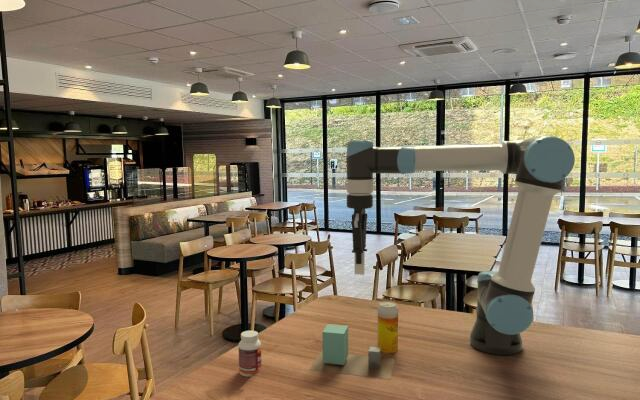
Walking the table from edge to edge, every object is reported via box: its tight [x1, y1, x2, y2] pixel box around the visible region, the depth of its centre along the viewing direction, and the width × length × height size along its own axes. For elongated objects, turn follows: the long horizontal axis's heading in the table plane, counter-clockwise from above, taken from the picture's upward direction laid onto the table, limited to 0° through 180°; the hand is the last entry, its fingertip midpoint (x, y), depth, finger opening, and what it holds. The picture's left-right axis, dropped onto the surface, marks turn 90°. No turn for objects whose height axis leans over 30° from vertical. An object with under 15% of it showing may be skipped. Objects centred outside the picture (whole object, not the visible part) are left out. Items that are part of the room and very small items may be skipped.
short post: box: [367, 346, 382, 370], centre depth 129 cm, size 3×3×5 cm
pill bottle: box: [238, 330, 262, 378], centre depth 129 cm, size 6×6×11 cm
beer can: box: [376, 300, 399, 354], centre depth 140 cm, size 6×6×15 cm
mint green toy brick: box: [321, 323, 349, 365], centre depth 132 cm, size 6×6×9 cm
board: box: [309, 350, 396, 380], centre depth 131 cm, size 22×12×1 cm, turn 75°
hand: (359, 273), depth 138 cm, fingers closed
